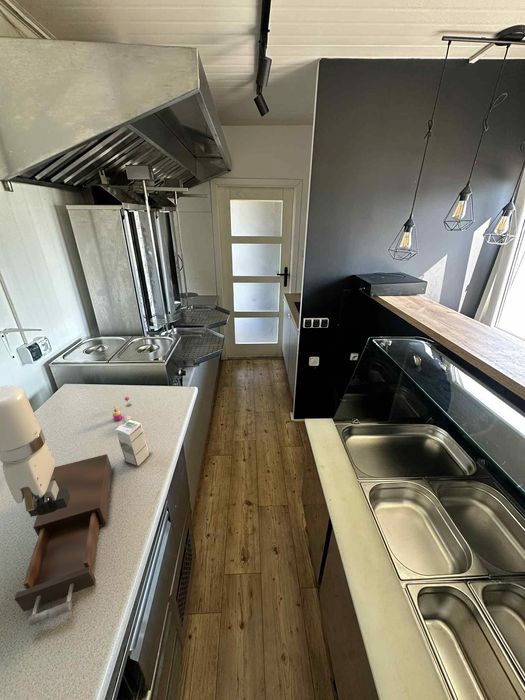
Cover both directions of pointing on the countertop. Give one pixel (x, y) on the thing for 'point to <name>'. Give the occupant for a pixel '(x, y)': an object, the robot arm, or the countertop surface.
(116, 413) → the candy
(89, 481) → the cabinet
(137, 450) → the syrup box
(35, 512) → the two-tone rectangular prism
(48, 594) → the drawer
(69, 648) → the countertop surface
